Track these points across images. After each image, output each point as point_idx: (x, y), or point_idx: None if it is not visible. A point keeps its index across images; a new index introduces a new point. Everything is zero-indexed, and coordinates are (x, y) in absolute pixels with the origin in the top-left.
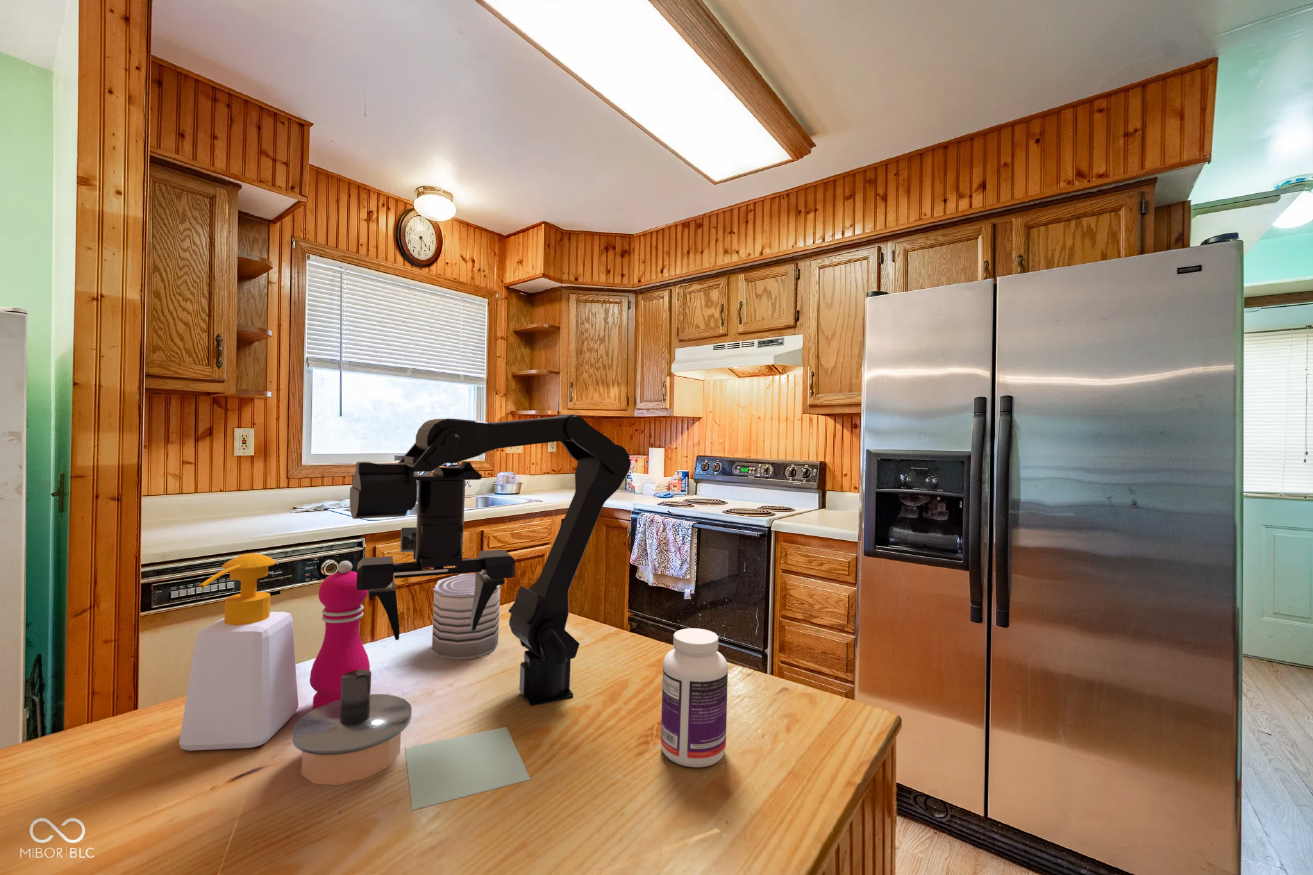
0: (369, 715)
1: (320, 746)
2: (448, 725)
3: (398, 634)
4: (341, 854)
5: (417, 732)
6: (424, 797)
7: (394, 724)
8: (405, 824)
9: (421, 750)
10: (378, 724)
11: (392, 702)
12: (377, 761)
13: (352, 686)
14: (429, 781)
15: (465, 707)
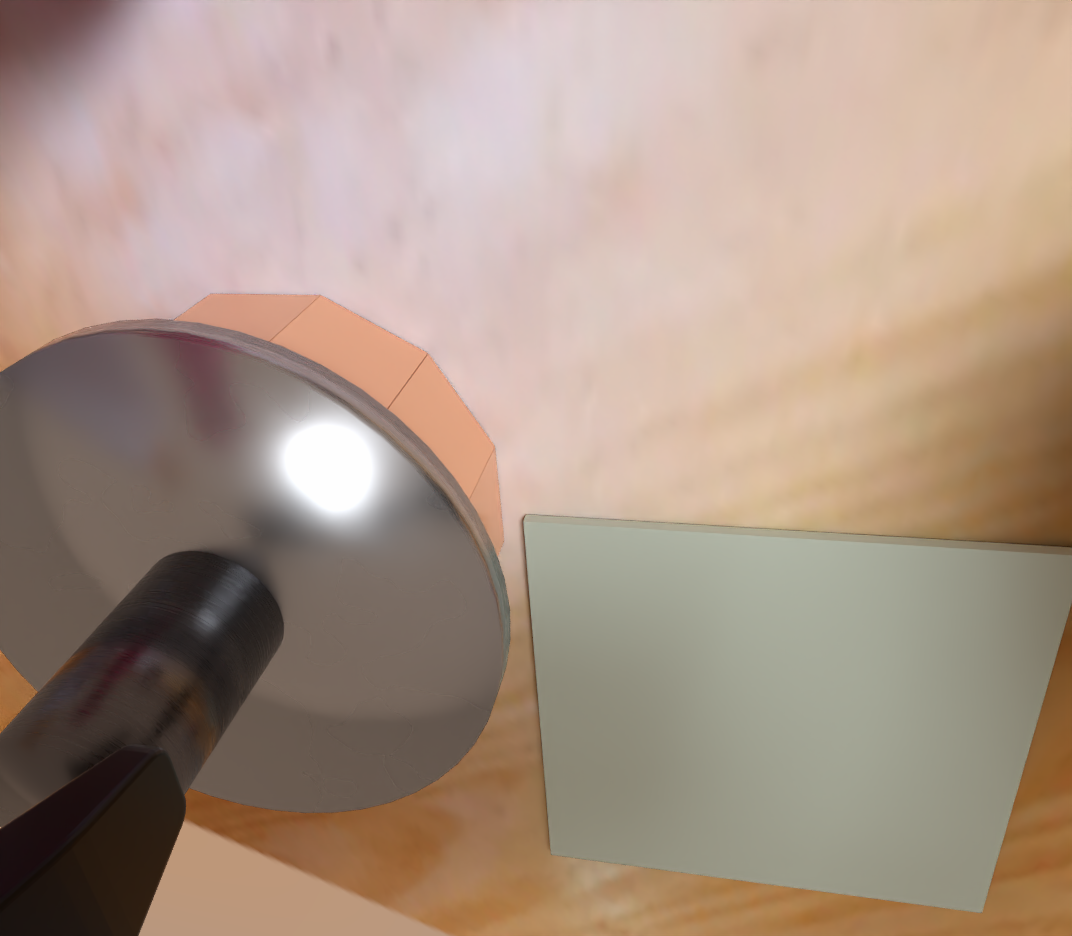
0: (281, 626)
1: None
2: (770, 364)
3: (150, 894)
4: (380, 883)
5: (589, 368)
6: (591, 827)
7: (422, 748)
8: (534, 872)
9: (596, 573)
10: (345, 714)
11: (383, 527)
12: None
13: None
14: (614, 768)
15: (944, 158)
